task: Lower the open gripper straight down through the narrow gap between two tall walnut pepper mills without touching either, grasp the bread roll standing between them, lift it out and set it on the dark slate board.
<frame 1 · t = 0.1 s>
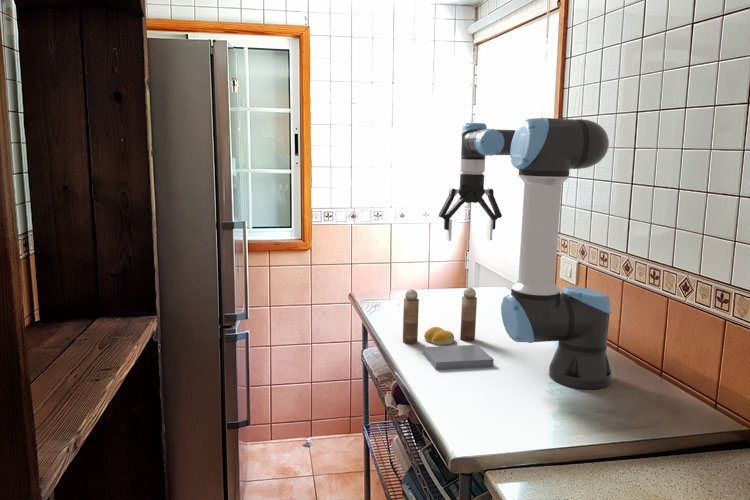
hand: (469, 239, 198), 28 cm above the table, fingers open, 13 cm apart
mill left: (410, 341, 184), on the table
slate board: (457, 360, 170), on the table
bread roll: (438, 341, 186), on the table
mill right: (467, 339, 188), on the table
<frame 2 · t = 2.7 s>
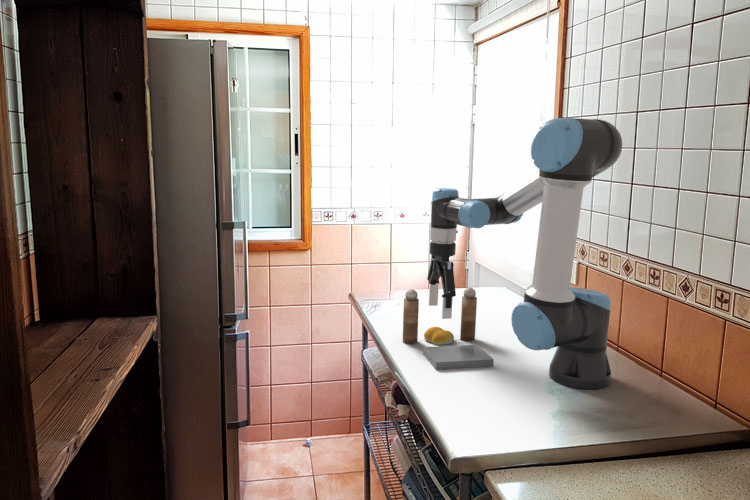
hand: (439, 311, 185), 9 cm above the table, fingers open, 13 cm apart
nothing on the table moved.
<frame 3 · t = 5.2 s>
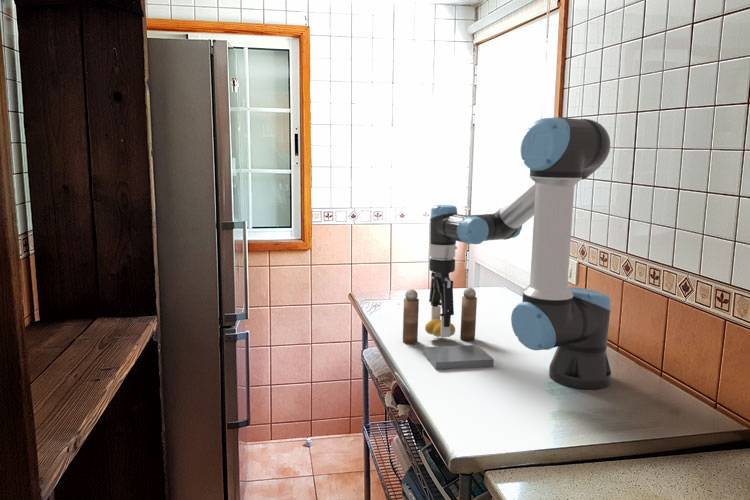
hand: (440, 331, 185), 3 cm above the table, fingers closed on bread roll, 9 cm apart
bread roll: (439, 333, 185), point 2 cm above the table, touching gripper
everything else where it was.
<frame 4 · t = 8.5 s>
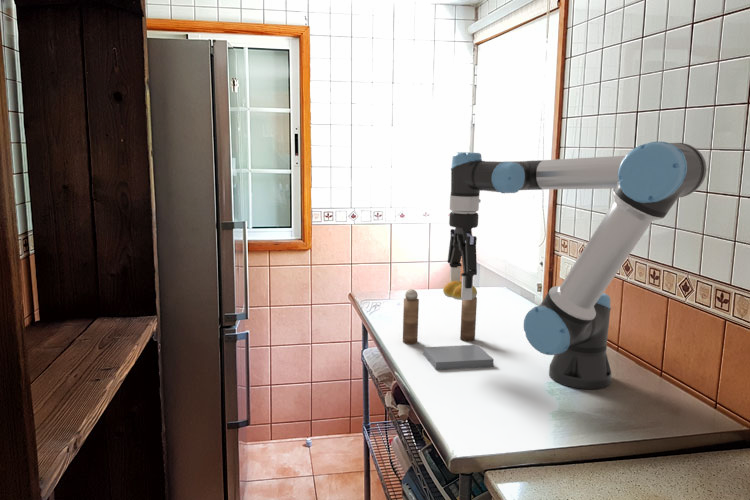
hand: (460, 294, 166), 18 cm above the table, fingers closed on bread roll, 9 cm apart
bread roll: (459, 297, 167), point 18 cm above the table, touching gripper
everything else where it was.
when the fingers open (3 cm above the table, at t = 11.7 s): bread roll stays where it is, resting on slate board.
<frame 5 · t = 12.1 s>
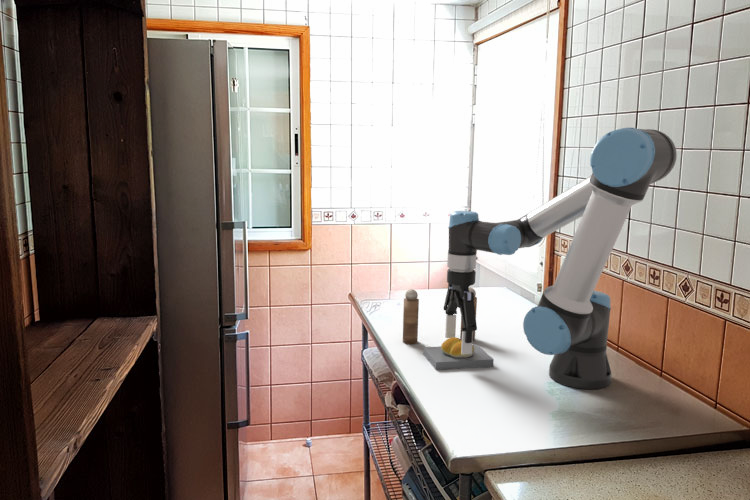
hand: (458, 345, 169), 4 cm above the table, fingers open, 13 cm apart
bread roll: (457, 353, 169), point 2 cm above the table, touching slate board
everything else where it was.
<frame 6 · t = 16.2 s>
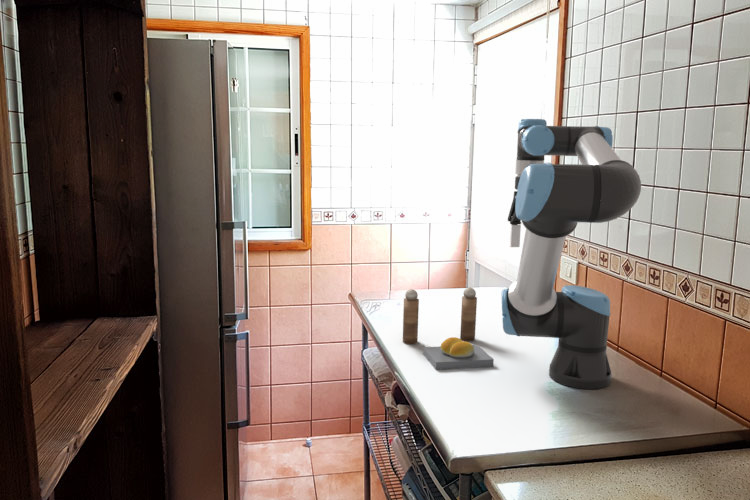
hand: (524, 251, 176), 29 cm above the table, fingers open, 13 cm apart
nothing on the table moved.
at the end: bread roll inside the target area on the slate board (0.2 cm from its centre), point 1.8 cm above the slate board's base; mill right tilted 0°; mill left tilted 0° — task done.
